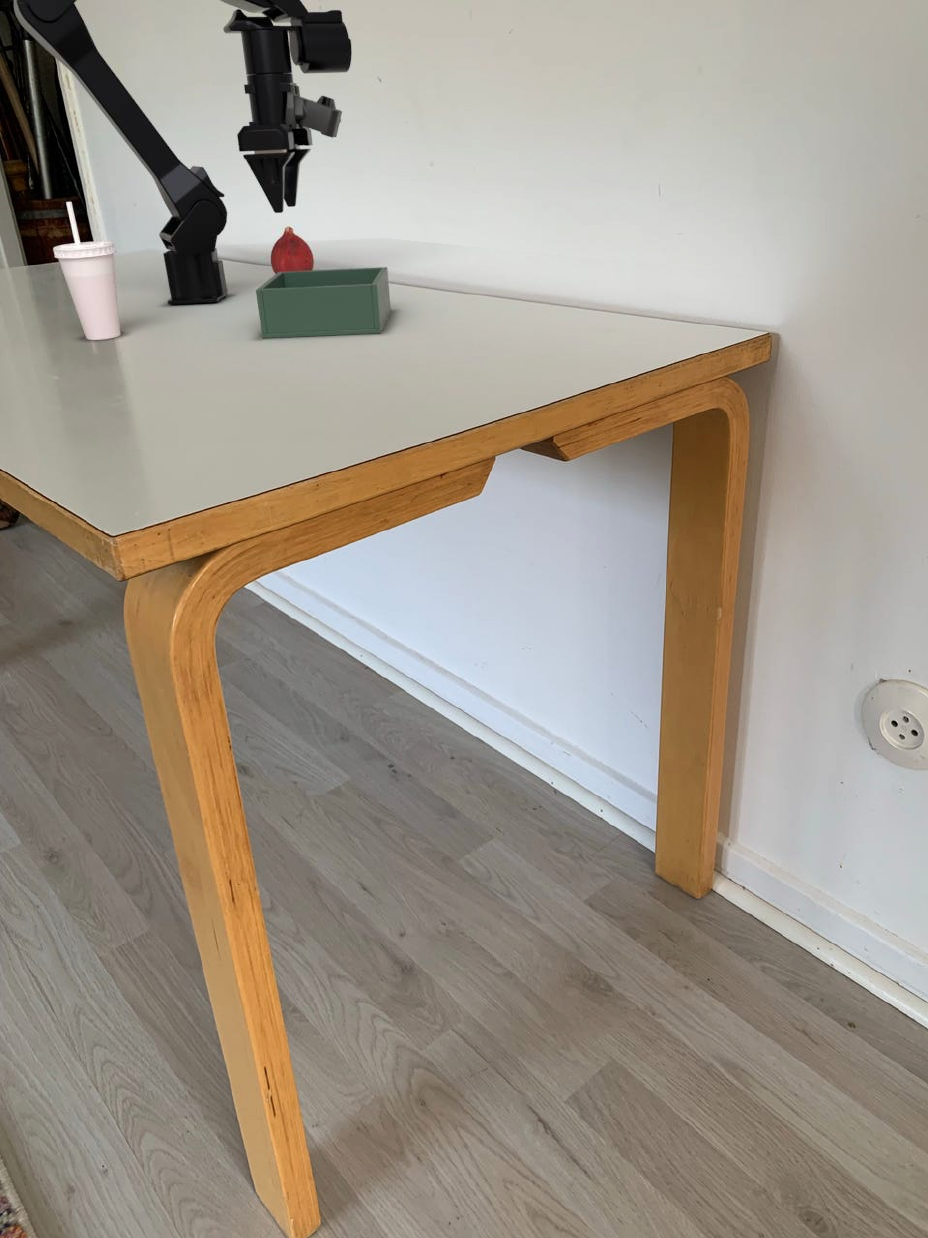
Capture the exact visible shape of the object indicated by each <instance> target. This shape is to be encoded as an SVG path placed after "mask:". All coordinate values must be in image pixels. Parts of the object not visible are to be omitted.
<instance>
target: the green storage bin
mask: <svg viewBox="0 0 928 1238" xmlns="http://www.w3.org/2000/svg"><path fill="white" fill-rule="evenodd" d="M255 293H256V301H257V308H258V309H257V310H258V316H259V322H260V328H261V329H260V330H261V336H262V339H275V338H278V339H280V338H299V337H302V338H303V337H324V336H348V335H349V336H350V335H370V334H371V335H372V334H381V333H382V331H383V329H384V327H385V324H386V323H387V321H388V318H389V316H390V314H391V311H392V309H391V296H390V284H389V271H388V267H387V266H382V267H381V266H380V267H360V268H359V267H358V268H336V269H333V268H332V269H316V270H315V269H313V270H311V271H289V272H278V273H277V274H274V275H273V276H272V277H271V278H269V279H268V280H267V281H265V282H264V283H263V284H262V285H260V286H259V287H257V289H255Z"/></svg>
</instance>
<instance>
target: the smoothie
mask: <svg viewBox="0 0 928 1238" xmlns="http://www.w3.org/2000/svg"><path fill="white" fill-rule="evenodd" d="M65 204H66V208H67V213H68V217H69V222H70V226H71V231H72V237H73V241H74V242H73V243H65V244H60V245H56V246H54V247H53V249H52V251H53V254H54V258H55V259H57V260H58V262H59V266H60V268H61V271H62V273H63V276H64V279H65V282H66V285H67V288H68V291H69V293H70V296H71V299H72V302H73V305H74V307H75V310H76V314H77V316H78V319H79V321H80V324H81V328H82V330H83V332H84V335H85V339H86V340H90V341H100V340H101V341H102V340H109V339H114V338H117V337H120V336H121V335H122V334H121V324H120V311H119V302H118V301H119V300H118V290H117V289H118V287H117V277H116V265H115V255H114V254H116V253H117V250H116V246H115V242H112V241H106V240H105V241H86V242H85V241H83V242H81V239H80V238H81V237H80V234H79V230H78V226H77V221H76V216H75V212H74V206H73V203H72V201H66V202H65Z"/></svg>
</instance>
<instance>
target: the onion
mask: <svg viewBox="0 0 928 1238" xmlns="http://www.w3.org/2000/svg"><path fill="white" fill-rule="evenodd" d="M270 265H271V269H272V272H273V273H274V275H276V274H277V273H278V272H289V271H311V270H314V265H315V259H314V254H313V252H312V249H311V247H310V246H309V244H308V243H307V242H306V241H305V240H304V239H303V238H302V237H300V236H299V235H297V234H296V233H294V228H292V227H291V226H286V227H285V228H284V231H283V234H282V235H281V236H280V237H279V238H278V239H277V240H276V242H275V243H274V244H273V246H272V249H271V252H270Z"/></svg>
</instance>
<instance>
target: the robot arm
mask: <svg viewBox="0 0 928 1238" xmlns="http://www.w3.org/2000/svg"><path fill="white" fill-rule="evenodd" d="M77 1H78V0H13V10H14V13H15V17H16V18H17V21H18V22H19V23H20V25H21V26H22V28H24V30H25V31H26V32H27V33H29V35H30V36H31V37H32V38H34V39H35V40H36V41H37V42H38V43H39V45H40V46H42V47H43V48H44V49H45V50H46V51H47V52H48V53H49V54H51V56H52V57H54V58H55V60H57V61H58V62H59V63H61V64H62V66H64V67H65V68H66V69H67V70H68V71H70V72H71V74H73V76H74V77H75V79H76V80H77V81H78V82H79V84H80V85H81V87H82V88H83V89H84V90H85V92H86V93H87V94H88V96H90V98H91V99H92V101H93V102H94V103H95V104H96V106H97V107H98V108H99V110H100V111H101V112H102V114H103V115H104V116H105V117H106V119H107V120H108V121H109V122H110V124H111V125H112V126H113V128H114V129H115V130H116V132H117V133H118V135H120V137H121V138H122V140H123V141H124V142H125V143H126V145H127V146H128V147H129V149H130V150H131V151H132V152H133V154H134V155H135V156H136V158H137V159H138V160H139V162H140V163H141V164H142V165H143V167H144V168H145V169H146V171H147V172H148V173H149V174H150V176H151V177H152V179H153V181H154V184H155V185H156V188H157V189H158V192H159V194H160V196H161V198H162V200H163V202H164V204H165V206H166V207H167V209H168V211H169V213H170V215H171V216H170V218H169V219H168V220H167V222H166V224H165V225H164V226H163V228H162V229H161V230H160V232H159V234H158V235H159V238H160V240H161V241H162V244H163V245H164V247H165V249H166V250H167V251H165V252H163V255H162V256H163V259H164V266H165V271H166V276H167V282H168V288H169V293H170V298H169V299H168V300H167V305H182V304H183V305H184V304H186V305H187V304H204V303H206V304H207V303H208V304H209V303H217V302H219V301H220V300H222V299H223V298H224V297H226V296H227V295H228V287H227V279H226V275H225V267H224V261H223V260H222V259H219V256H218V249H217V247H216V245H217V240H218V236H219V235H221V233H223V231H224V230H225V228H226V225H227V222H228V210H227V207H226V205H225V203H224V202H223V200H222V198H225V194H224V193H223V192H222V191H220V190H219V189H218V188H217V187H216V186H215V185H214V183H213V182H212V180H211V178H210V176H209V174H208V172H207V170H206V169H205V168H204V167H203V166H197V165H192V166H191V167H190V168H189V167H188V166H186V165H185V164H184V163H183V161H181V160H180V159H179V158H178V157H177V155H176V154H175V152H174V151H173V150H172V149H171V147H170V146H169V145H168V143H167V141H165V139H164V138H163V136H162V135H161V133H159V130H158V129H157V128H156V127H155V126H154V125H153V123H152V122H151V120H150V119H149V118H148V116H147V115H146V114H145V112H144V111H143V109H142V107H140V105H139V104H138V103H137V102H136V100H135V98H134V97H133V96H132V95H131V93H130V92H129V90H128V89H127V88H126V87H125V85H124V84H123V82H121V80H120V79H119V77H118V76H117V75H116V73H115V72H114V71H113V69H112V68H111V67H110V65H109V64H108V63H107V61H106V60H105V59H104V57H103V56H102V54H101V53H100V52H99V50H98V48H97V46H96V44H95V42H94V40H93V38H92V36H91V34H90V31H89V29H88V27H87V25H86V23H85V21H84V18H83V17H82V15H81V13H80V11H79V9H78V7H77V6H76V4H75V3H76V2H77ZM219 1H220V2H222V3H224V4H226V5H229V6H232V7H235V8H237V9H236V10H234V11H232V15H231V18H230V19H229V21H228V22H227V23H226V24H225V25H224V26H223V27H222V28H223V32H224V34H227V35H228V34H229V35H230V34H240V35H241V42H242V43H241V44H242V51H243V52H242V53H243V58H244V60H243V61H244V66H245V74H246V84H243V88H244V94H245V95H248V97H249V98H248V99H249V105H250V113H251V121H248V125H243V126H242V127H241V128H240V130H239V131H238V133H237V134H236V136H237V137H236V138H237V144H238V151H239V152H240V153H241V152H254V153H245V154H242V156H243V159H244V160H245V161H246V163H247V165H248V166H249V168H250V170H251V172H252V173H253V175H254V177H255V179H256V180H257V182H258V184H259V186H260V188H261V190H262V192H263V193H264V196H265V197H266V199H267V201H268V203H269V205H270V207H271V209H272V210H273V212H274V213H275V214H281V213H282V214H283V212H284V209H285V206H284V205H285V204H286V206H287V207H288V208H291V207H292V208H293V207H296V205H297V197H298V186H299V177H300V168H301V163H302V161H303V160H304V159H305V158H306V156H308V154H309V153H310V152H311V148H301V146H302V147H303V146H305V147H309V146H313V135H312V130H313V131H316V132H319V133H320V134H321V135H323V136H325V137H326V136H327V137H329V138H332V139H333V138H337V135H338V131H339V128H340V123H341V122H342V119H341V118H342V115H343V111H342V110H340V109H337V107H336V103H335V99H334V98H332V97H328V96H326V95H320V97H319V98H318V100H316V101H314V100H313V99H308V98H306V97H302V96H301V93H300V86H299V85H297V83H296V82H294V75H293V67H292V63H293V65H295V66H299V69H300V71H301V72H302V73H303V74H305V75H306V74H336V73H337V74H338V73H347V72H349V70H350V68H351V65H352V54H353V53H352V40H351V38H350V36H349V32H348V28H347V26H346V24H345V22H344V21H343V11H341V10H340V9H331V10H327V11H308V9H307V7H306V6H305V5H304V3H303V2H302V1H301V0H219ZM242 10H243V11H244V12H245V11H246V12H248V13H251V14H260V13H261V14H262V15H263V16H248V15H246V14H245V13H244V12H243V11H242ZM274 23H275V24H282V23H283V24H285V23H287V24H288V23H290V25H275V24H274ZM284 202H285V203H284Z"/></svg>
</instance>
